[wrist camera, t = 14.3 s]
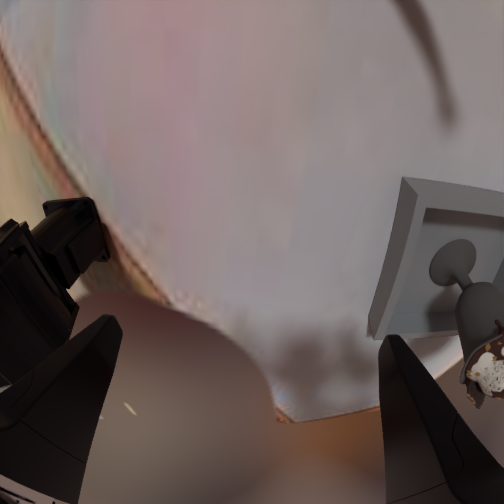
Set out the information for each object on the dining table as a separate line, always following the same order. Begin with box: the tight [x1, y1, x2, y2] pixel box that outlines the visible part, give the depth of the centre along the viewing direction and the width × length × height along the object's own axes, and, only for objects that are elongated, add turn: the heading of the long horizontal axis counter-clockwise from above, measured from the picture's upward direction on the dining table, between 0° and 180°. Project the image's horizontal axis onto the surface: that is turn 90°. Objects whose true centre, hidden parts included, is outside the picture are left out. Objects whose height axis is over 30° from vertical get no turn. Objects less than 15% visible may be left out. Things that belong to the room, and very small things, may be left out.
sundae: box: [430, 239, 504, 409], centre depth 14 cm, size 7×7×15 cm
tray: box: [368, 177, 504, 340], centre depth 20 cm, size 14×14×3 cm
